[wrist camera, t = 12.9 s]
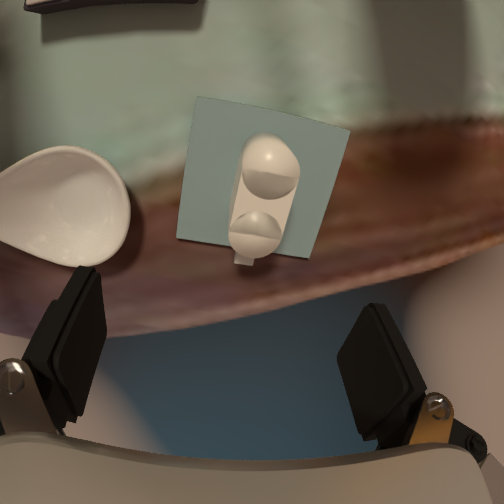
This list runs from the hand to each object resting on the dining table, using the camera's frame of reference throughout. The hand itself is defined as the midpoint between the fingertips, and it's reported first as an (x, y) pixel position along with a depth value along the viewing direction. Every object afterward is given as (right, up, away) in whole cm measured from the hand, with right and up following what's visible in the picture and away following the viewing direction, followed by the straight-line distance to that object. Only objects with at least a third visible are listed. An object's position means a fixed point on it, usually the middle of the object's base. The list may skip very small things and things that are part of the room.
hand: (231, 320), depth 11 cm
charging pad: (+1, +8, +17) cm, 19 cm away
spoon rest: (-21, +9, +16) cm, 28 cm away
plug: (+1, +8, +16) cm, 18 cm away
